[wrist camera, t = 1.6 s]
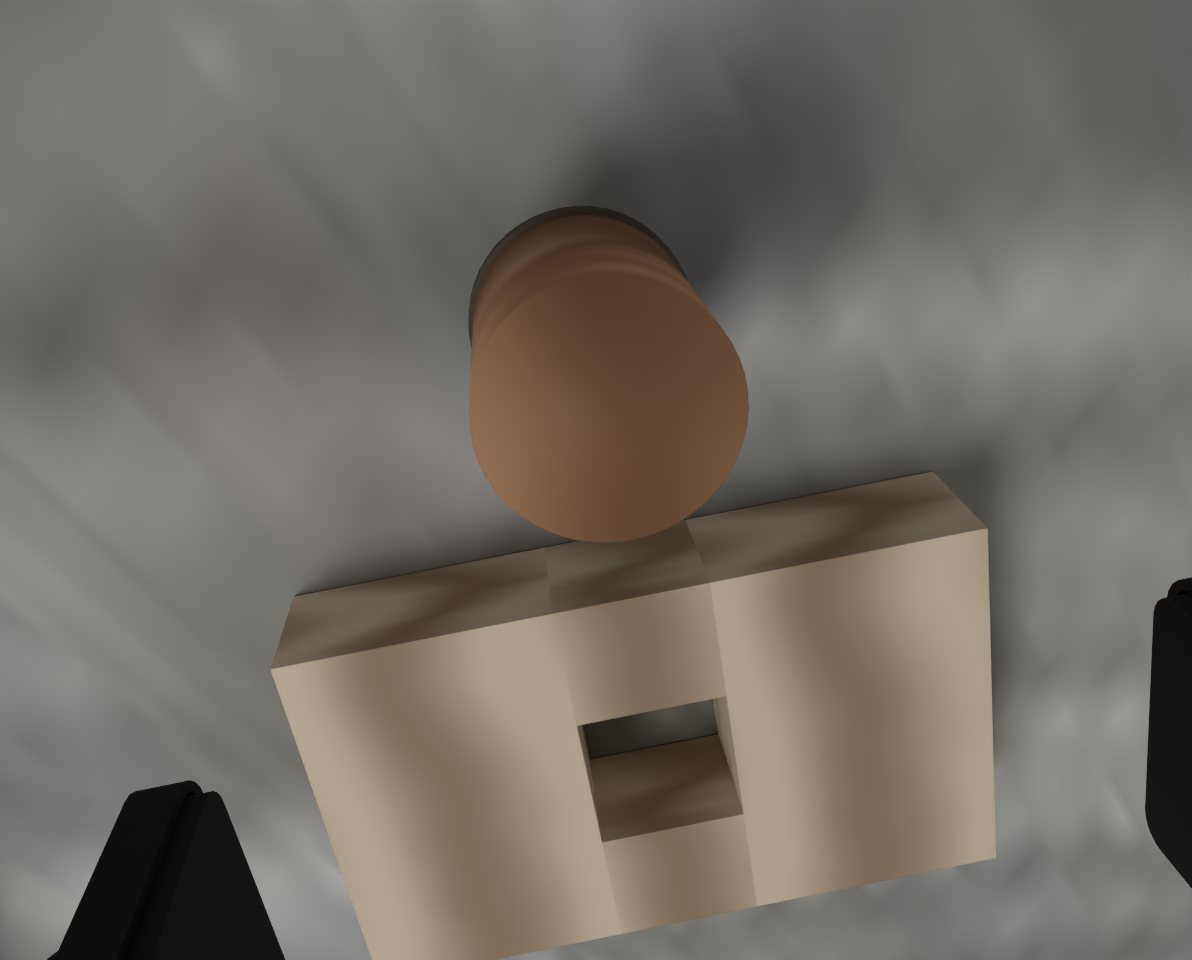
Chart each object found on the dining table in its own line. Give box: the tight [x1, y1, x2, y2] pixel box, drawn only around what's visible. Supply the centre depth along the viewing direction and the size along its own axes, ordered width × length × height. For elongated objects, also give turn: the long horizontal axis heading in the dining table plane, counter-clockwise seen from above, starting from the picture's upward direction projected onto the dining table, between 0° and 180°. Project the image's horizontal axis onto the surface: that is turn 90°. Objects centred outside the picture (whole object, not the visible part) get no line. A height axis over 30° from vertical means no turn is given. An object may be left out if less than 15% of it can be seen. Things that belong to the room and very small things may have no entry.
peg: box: [469, 206, 749, 543], centre depth 25 cm, size 5×5×11 cm
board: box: [271, 471, 996, 960], centre depth 34 cm, size 20×12×4 cm, turn 100°
